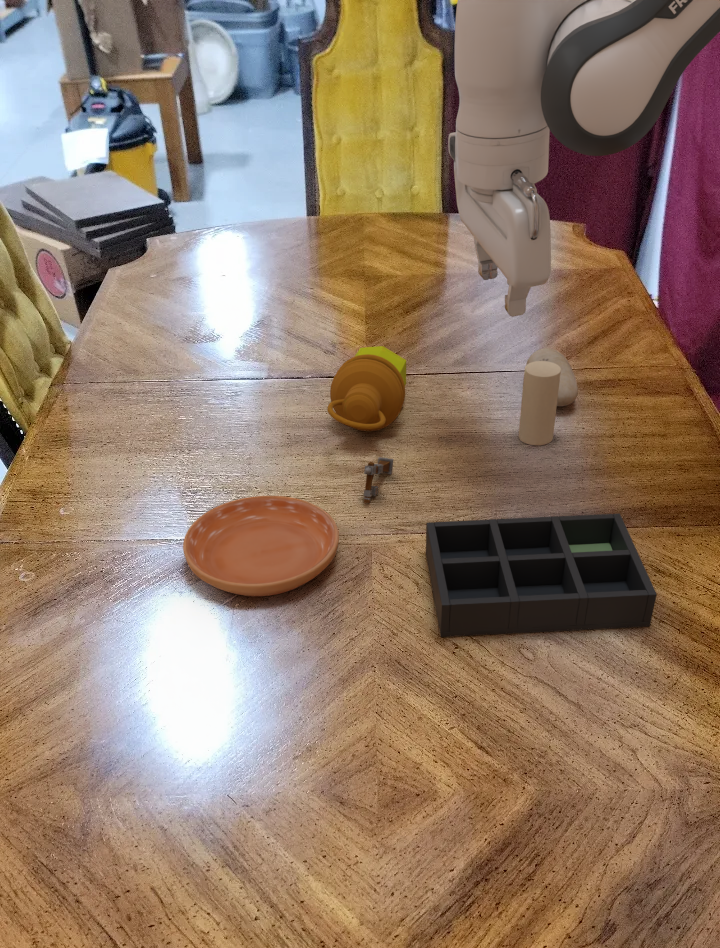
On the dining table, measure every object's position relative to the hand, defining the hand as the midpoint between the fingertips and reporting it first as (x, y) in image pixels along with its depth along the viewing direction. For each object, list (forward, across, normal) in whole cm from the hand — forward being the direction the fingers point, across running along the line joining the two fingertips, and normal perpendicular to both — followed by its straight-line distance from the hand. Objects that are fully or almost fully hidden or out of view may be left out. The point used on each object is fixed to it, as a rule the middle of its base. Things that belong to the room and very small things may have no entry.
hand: (501, 294), depth 105 cm
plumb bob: (+20, +12, +13) cm, 27 cm away
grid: (+19, -26, +5) cm, 32 cm away
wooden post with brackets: (+19, -4, +16) cm, 25 cm away
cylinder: (+21, +3, -6) cm, 22 cm away
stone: (+22, +14, -11) cm, 28 cm away
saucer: (+18, -15, +30) cm, 38 cm away
